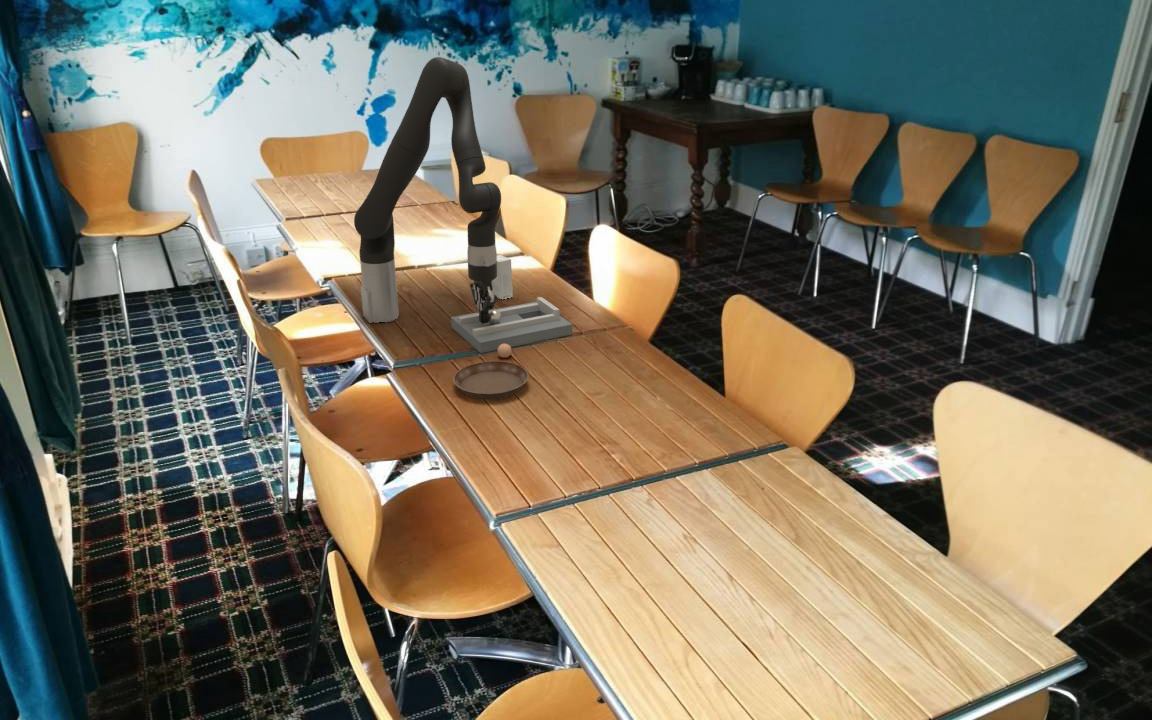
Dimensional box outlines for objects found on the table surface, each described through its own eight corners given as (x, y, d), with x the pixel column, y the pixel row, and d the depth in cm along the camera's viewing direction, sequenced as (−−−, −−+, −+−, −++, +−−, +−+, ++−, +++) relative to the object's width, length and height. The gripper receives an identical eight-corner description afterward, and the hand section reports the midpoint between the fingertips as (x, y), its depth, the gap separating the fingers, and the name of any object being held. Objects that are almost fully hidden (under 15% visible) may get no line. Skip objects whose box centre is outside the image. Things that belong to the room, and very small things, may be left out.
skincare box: (513, 297, 265) (512, 259, 260) (501, 300, 262) (500, 261, 257) (501, 292, 269) (500, 254, 264) (489, 295, 266) (488, 256, 261)
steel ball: (487, 321, 234) (497, 309, 234) (481, 316, 237) (491, 304, 237) (497, 329, 236) (506, 317, 236) (491, 324, 239) (500, 312, 239)
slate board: (480, 353, 227) (479, 331, 224) (451, 327, 243) (450, 306, 240) (572, 334, 239) (572, 313, 236) (538, 310, 255) (538, 291, 252)
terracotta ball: (501, 361, 223) (500, 347, 221) (495, 355, 226) (494, 342, 224) (514, 358, 224) (513, 345, 223) (508, 353, 227) (507, 340, 226)
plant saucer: (459, 408, 200) (459, 396, 198) (449, 376, 215) (448, 364, 214) (535, 399, 204) (535, 387, 203) (519, 368, 219) (519, 357, 218)
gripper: (459, 255, 232) (461, 316, 239) (478, 269, 221) (480, 333, 228) (485, 251, 235) (487, 312, 242) (506, 265, 225) (507, 328, 232)
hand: (484, 322), depth 235 cm, fingers closed
